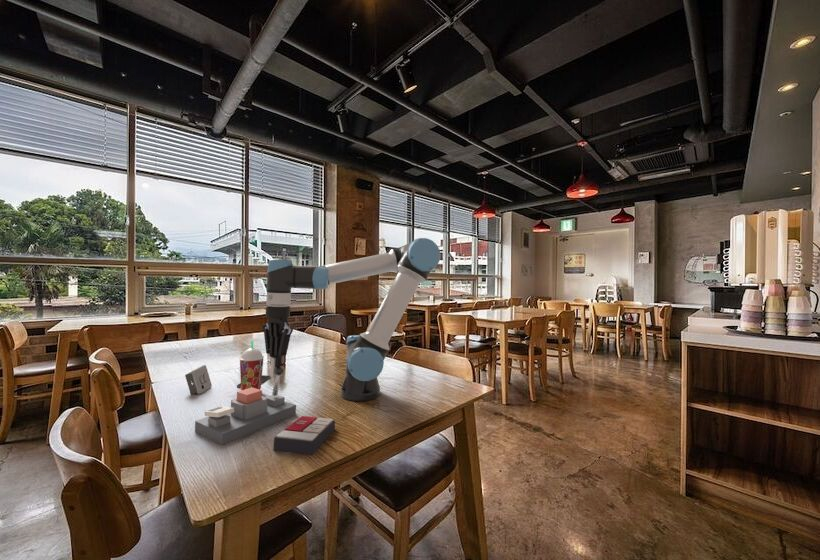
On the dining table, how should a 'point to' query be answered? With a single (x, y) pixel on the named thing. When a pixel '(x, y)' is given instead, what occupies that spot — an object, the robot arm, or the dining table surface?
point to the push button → (249, 395)
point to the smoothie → (251, 368)
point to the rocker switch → (219, 411)
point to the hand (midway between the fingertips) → (275, 376)
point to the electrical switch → (198, 380)
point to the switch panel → (245, 419)
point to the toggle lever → (277, 380)
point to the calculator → (304, 435)
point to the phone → (264, 378)
